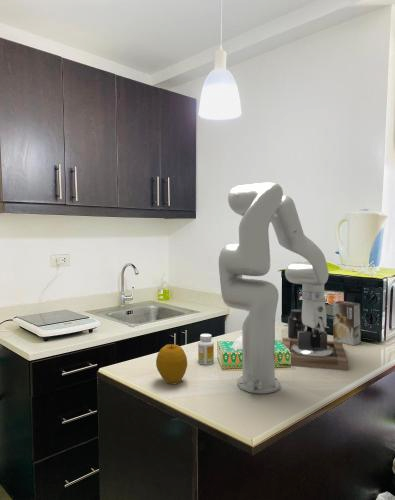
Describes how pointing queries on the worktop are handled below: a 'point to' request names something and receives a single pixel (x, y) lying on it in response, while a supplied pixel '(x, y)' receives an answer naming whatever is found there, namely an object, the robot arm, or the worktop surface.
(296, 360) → the dial housing
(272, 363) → the robot arm
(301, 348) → the dial
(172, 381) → the apple
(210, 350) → the supplement bottle
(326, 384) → the worktop surface
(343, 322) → the coffee box
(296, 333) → the supplement bottle
